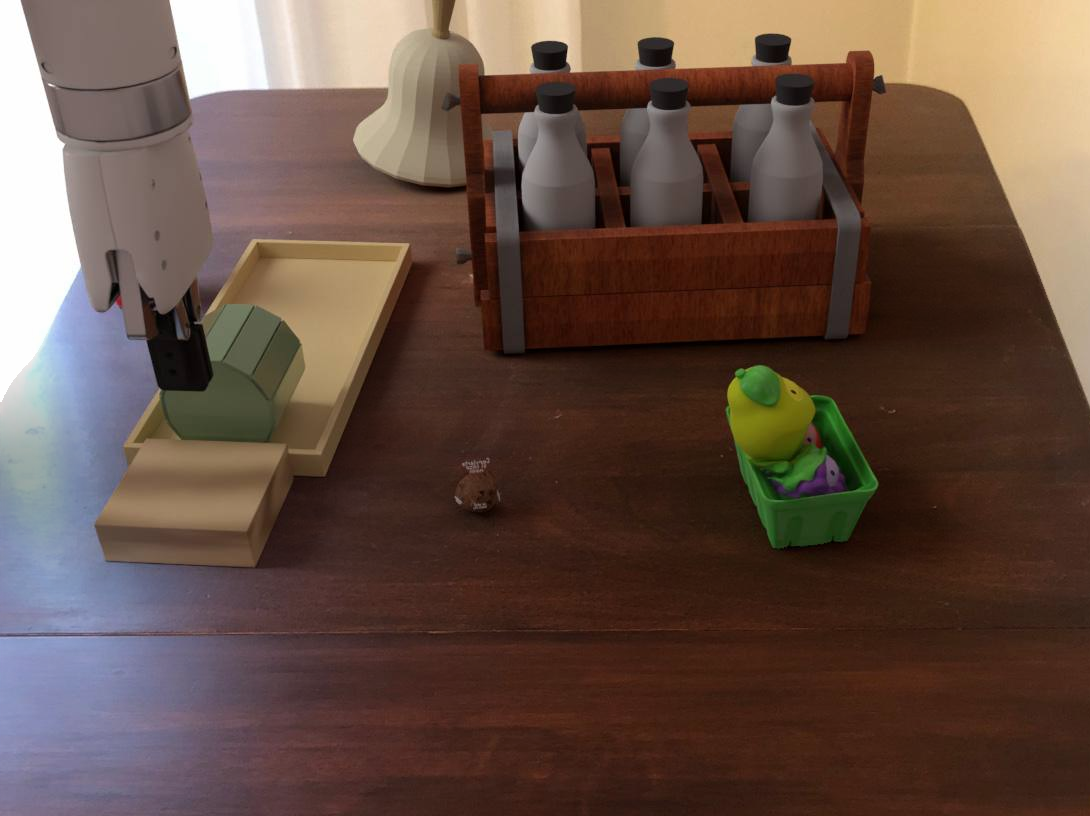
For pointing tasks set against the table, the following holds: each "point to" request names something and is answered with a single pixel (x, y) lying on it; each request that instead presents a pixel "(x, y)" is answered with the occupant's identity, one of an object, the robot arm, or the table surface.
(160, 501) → the block
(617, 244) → the milk bottle holder
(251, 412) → the cup
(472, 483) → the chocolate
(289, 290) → the tray
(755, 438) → the fruit basket
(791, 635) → the table surface
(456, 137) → the handbell
